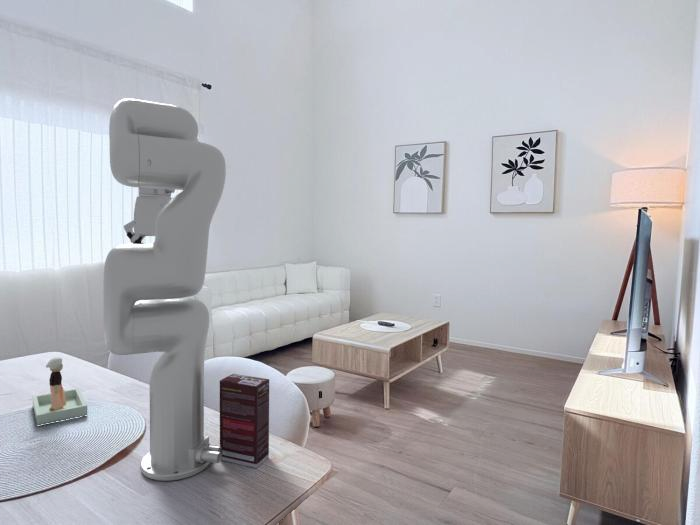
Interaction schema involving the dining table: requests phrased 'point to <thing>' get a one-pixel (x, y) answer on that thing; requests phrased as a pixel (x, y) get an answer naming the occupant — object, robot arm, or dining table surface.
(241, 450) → the supplement box
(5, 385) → the dining table surface
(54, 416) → the tray
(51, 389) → the grandmother figurine
